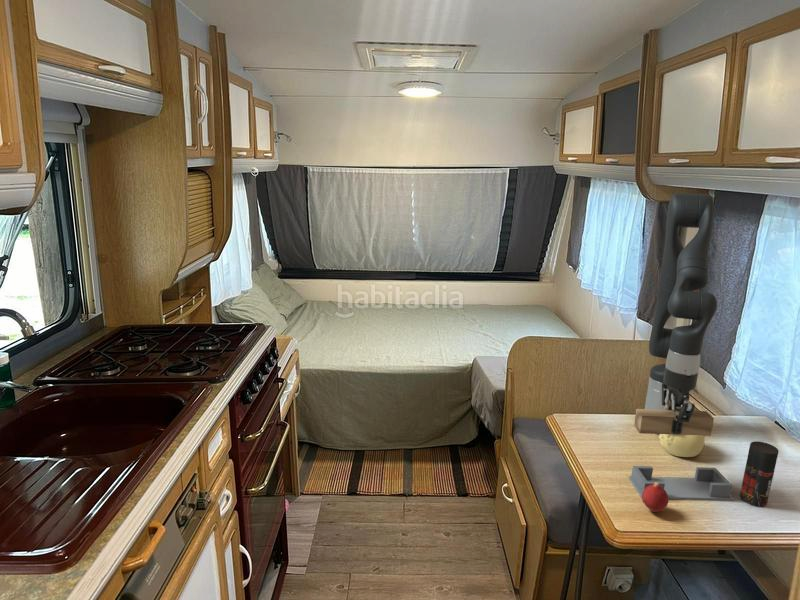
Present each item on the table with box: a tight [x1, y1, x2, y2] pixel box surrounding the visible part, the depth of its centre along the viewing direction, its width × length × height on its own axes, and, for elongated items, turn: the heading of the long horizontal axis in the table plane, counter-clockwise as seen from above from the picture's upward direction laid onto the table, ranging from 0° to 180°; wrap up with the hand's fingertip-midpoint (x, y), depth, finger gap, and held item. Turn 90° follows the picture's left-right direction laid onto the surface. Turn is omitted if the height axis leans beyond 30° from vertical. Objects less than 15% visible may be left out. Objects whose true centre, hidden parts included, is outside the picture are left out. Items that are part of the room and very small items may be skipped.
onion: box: [641, 482, 669, 513], centre depth 133 cm, size 6×6×8 cm
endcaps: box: [627, 465, 734, 502], centre depth 143 cm, size 9×23×4 cm, turn 89°
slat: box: [633, 408, 714, 437], centre depth 142 cm, size 4×18×5 cm, turn 87°
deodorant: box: [739, 440, 779, 508], centre depth 137 cm, size 6×6×15 cm
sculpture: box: [658, 434, 706, 458], centre depth 160 cm, size 11×12×11 cm
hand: (672, 428), depth 143 cm, fingers closed on slat, 4 cm apart
